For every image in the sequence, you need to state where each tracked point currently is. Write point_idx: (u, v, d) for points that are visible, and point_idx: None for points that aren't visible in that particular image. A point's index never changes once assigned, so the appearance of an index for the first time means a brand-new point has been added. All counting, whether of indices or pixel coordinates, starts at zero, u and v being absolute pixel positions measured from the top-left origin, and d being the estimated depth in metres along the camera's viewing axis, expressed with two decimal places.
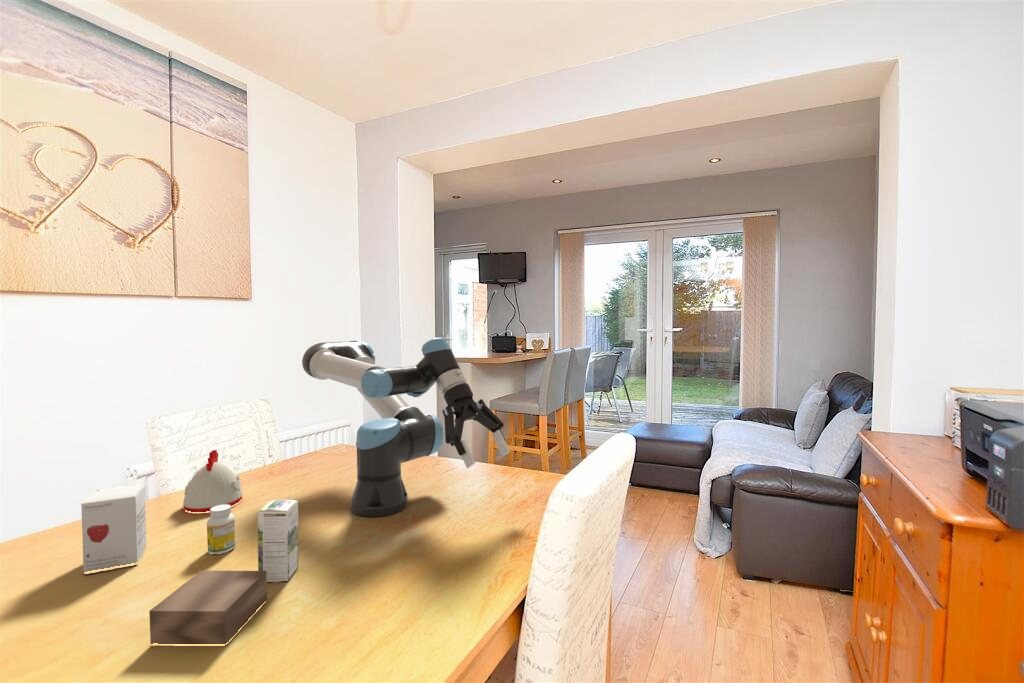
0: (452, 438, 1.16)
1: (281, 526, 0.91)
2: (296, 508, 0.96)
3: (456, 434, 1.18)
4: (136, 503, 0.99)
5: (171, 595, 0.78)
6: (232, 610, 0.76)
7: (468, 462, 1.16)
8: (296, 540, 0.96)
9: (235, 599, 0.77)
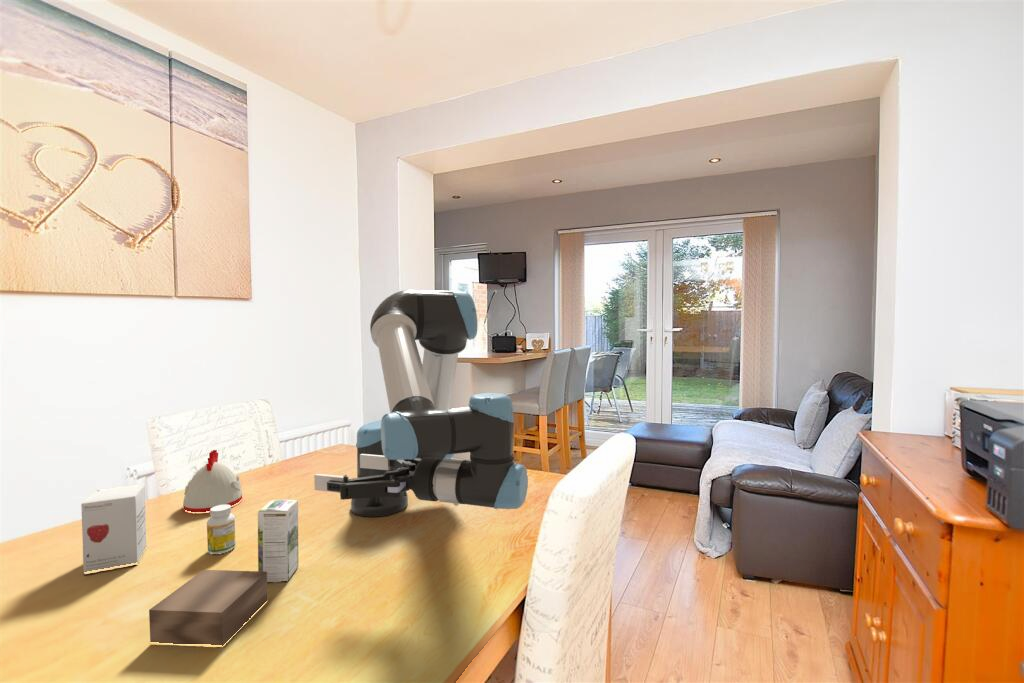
0: None
1: (281, 526, 0.91)
2: (296, 508, 0.96)
3: None
4: (136, 503, 0.99)
5: (171, 594, 0.78)
6: (230, 611, 0.75)
7: (319, 482, 0.83)
8: (296, 540, 0.96)
9: (233, 600, 0.76)
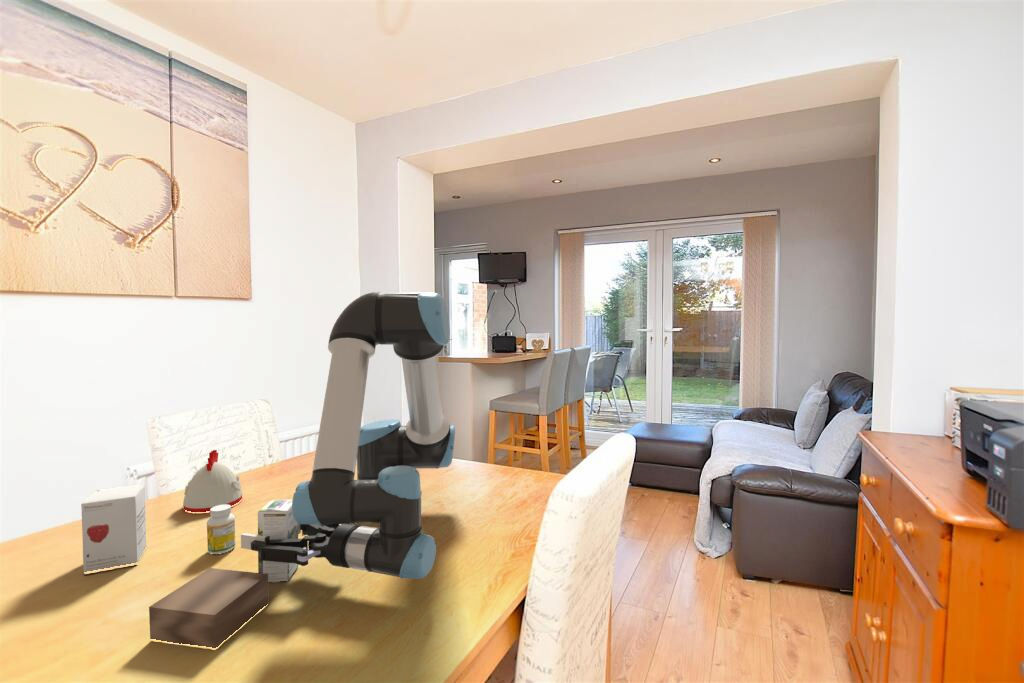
0: None
1: (281, 526, 0.91)
2: None
3: None
4: (136, 503, 0.99)
5: (174, 591, 0.79)
6: (224, 614, 0.75)
7: (244, 541, 0.91)
8: None
9: (228, 603, 0.76)
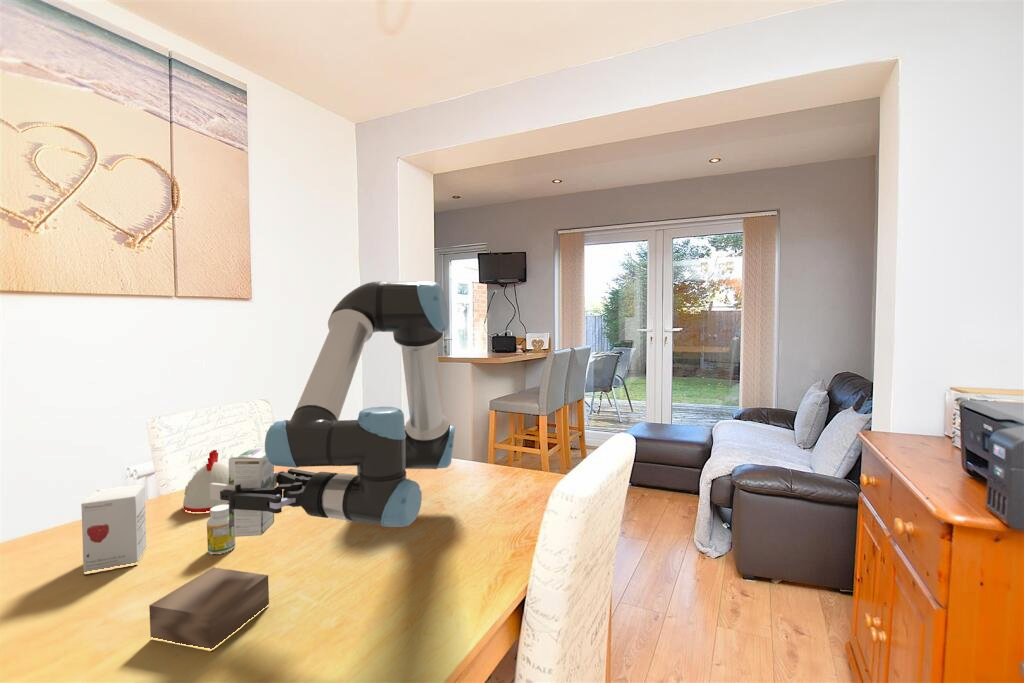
0: None
1: (254, 475, 0.84)
2: None
3: None
4: (136, 503, 0.99)
5: (175, 590, 0.79)
6: (221, 615, 0.74)
7: (214, 491, 0.84)
8: None
9: (226, 604, 0.76)
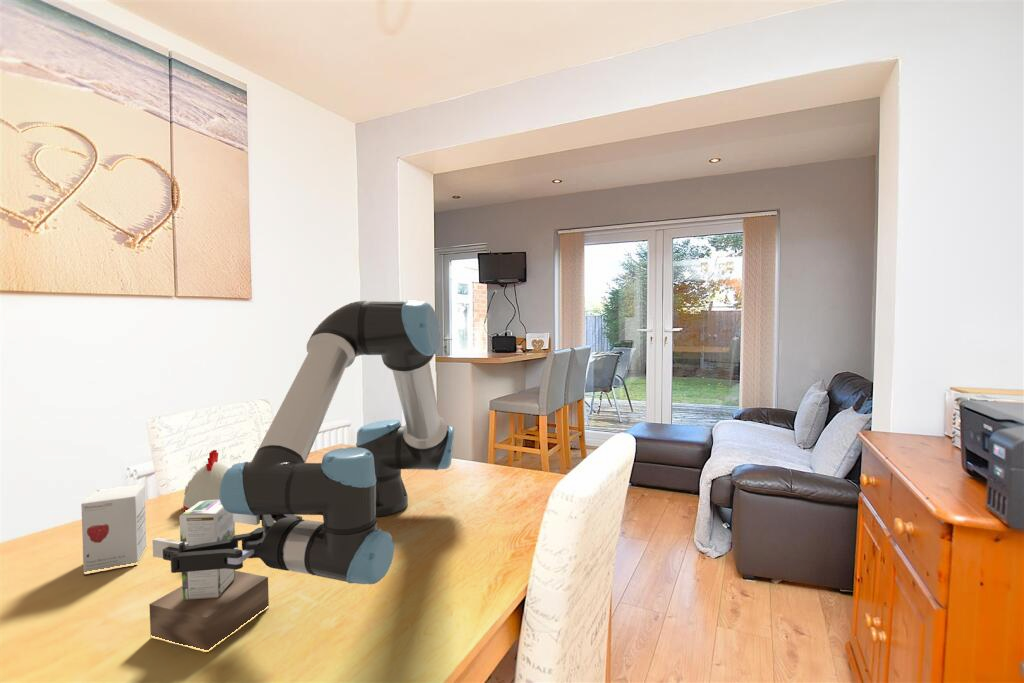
0: None
1: (209, 532, 0.76)
2: None
3: None
4: (136, 503, 0.99)
5: (176, 589, 0.80)
6: (218, 617, 0.74)
7: (157, 548, 0.73)
8: None
9: (223, 605, 0.75)
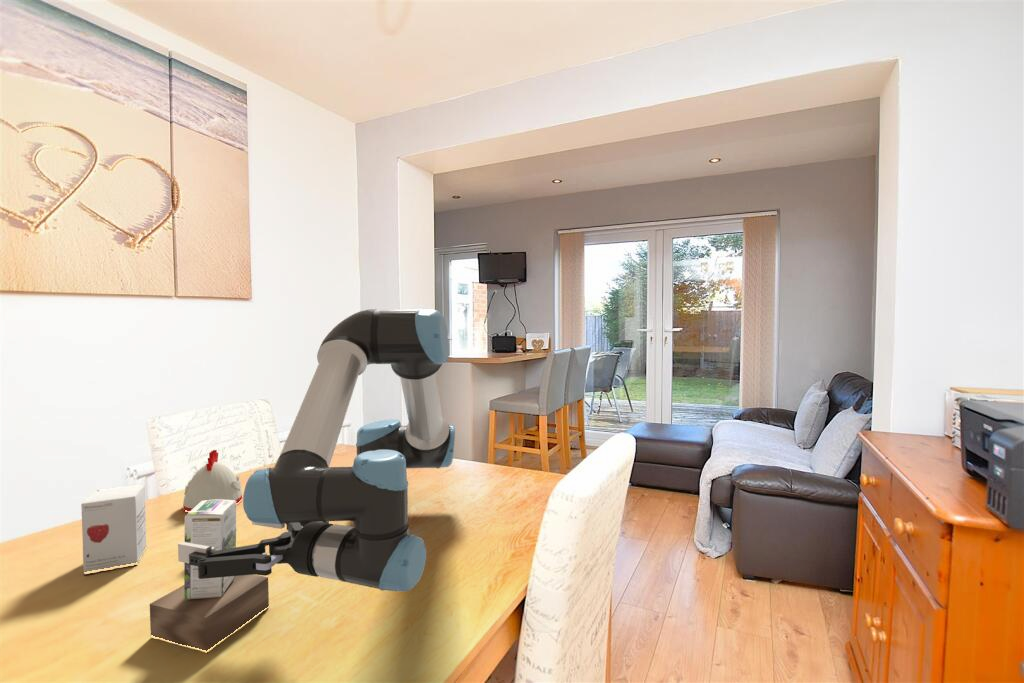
0: None
1: (215, 533, 0.76)
2: (234, 510, 0.81)
3: None
4: (136, 503, 0.99)
5: (176, 589, 0.80)
6: (217, 617, 0.74)
7: (183, 552, 0.71)
8: (233, 547, 0.81)
9: (222, 605, 0.75)
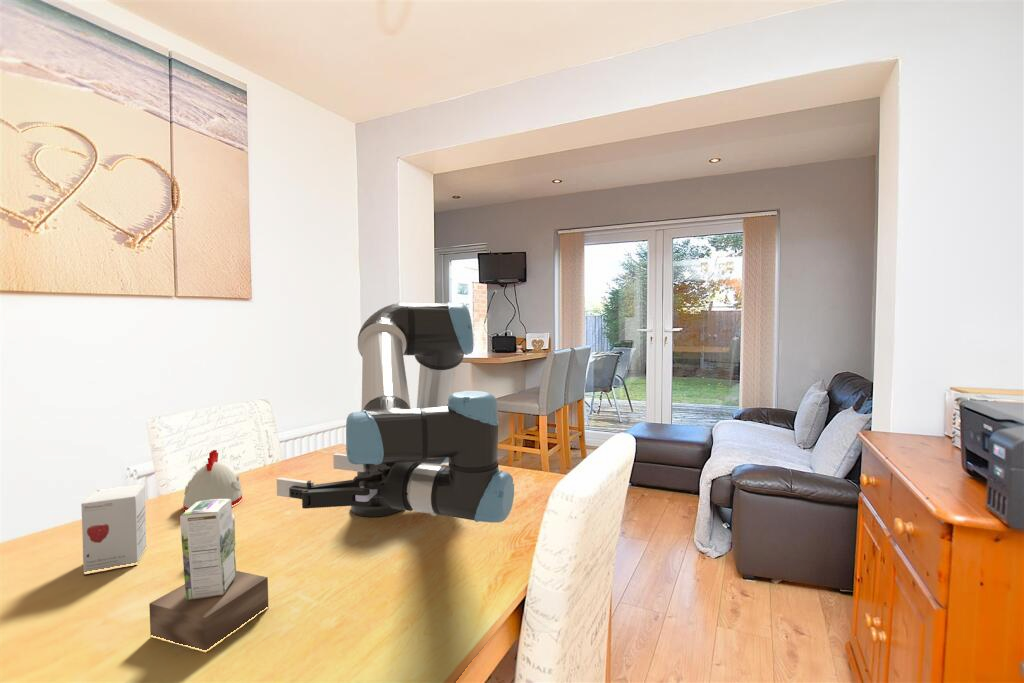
0: None
1: (211, 531, 0.77)
2: (229, 508, 0.81)
3: None
4: (136, 503, 0.99)
5: (176, 589, 0.80)
6: (216, 617, 0.74)
7: (281, 487, 0.75)
8: (232, 545, 0.81)
9: (222, 605, 0.75)
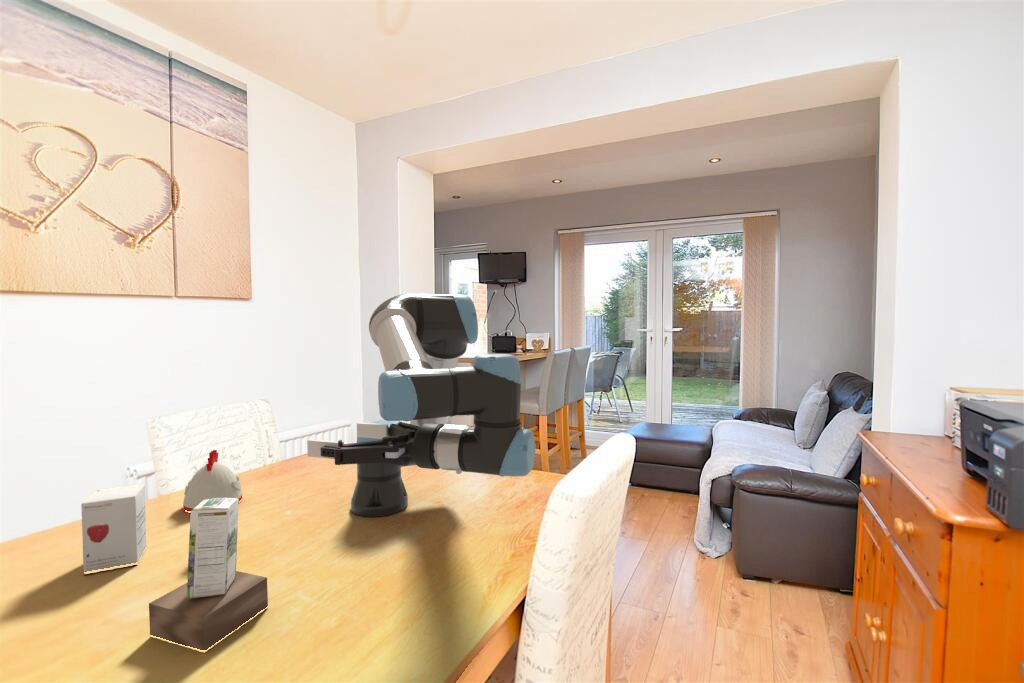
0: None
1: (220, 527, 0.78)
2: (237, 507, 0.82)
3: None
4: (136, 503, 0.99)
5: (176, 589, 0.80)
6: (215, 617, 0.74)
7: (312, 448, 0.78)
8: (235, 545, 0.82)
9: (221, 606, 0.75)
